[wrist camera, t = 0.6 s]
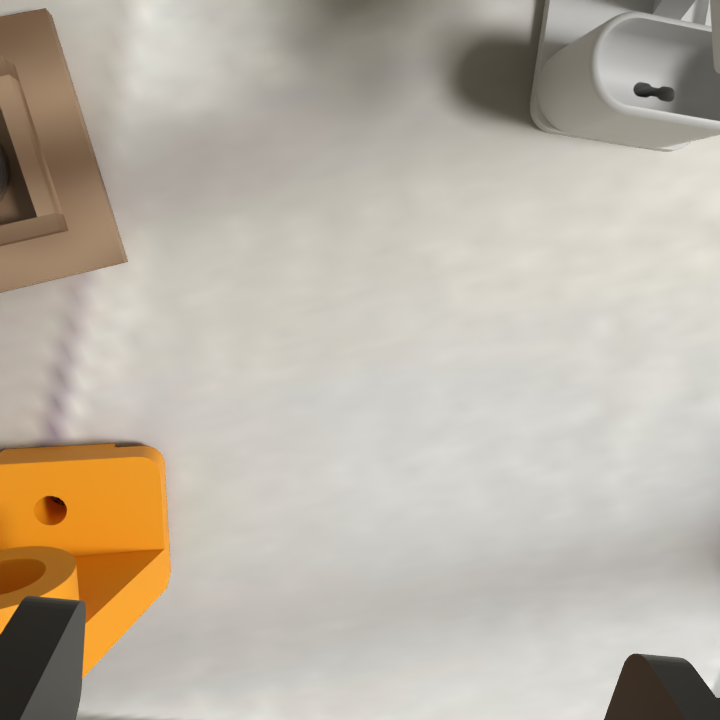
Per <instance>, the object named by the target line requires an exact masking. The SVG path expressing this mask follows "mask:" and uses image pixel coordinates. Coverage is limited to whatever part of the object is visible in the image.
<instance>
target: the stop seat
mask: <svg viewBox="0 0 720 720" xmlns="http://www.w3.org/2000/svg"><path fill="white" fill-rule="evenodd" d="M0 143H1V144H2V146H3V148H4V149H5V151H6V154H7V156H8V159H9V163H10V169H11V178H10V184H9V187H8V190H7V192H6V194H5V196H4V198H3V199H2V201H1V202H0V293H1V292H5V291H9V290H13V289H18V288H22V287H26V286H30V285H34V284H38V283H42V282H47V281H51V280H55V279H59V278H63V277H67V276H71V275H76V274H80V273H84V272H88V271H92V270H96V269H100V268H105V267H109V266H113V265H117V264H121V263H125V262H128V260H127V257H126V254H125V251H124V247H123V244H122V241H121V238H120V235H119V231H118V228H117V225H116V222H115V218H114V215H113V212H112V209H111V206H110V202H109V199H108V196H107V193H106V189H105V186H104V183H103V180H102V177H101V173H100V170H99V167H98V164H97V160H96V157H95V154H94V151H93V147H92V144H91V141H90V138H89V135H88V131H87V128H86V125H85V122H84V118H83V115H82V112H81V109H80V106H79V102H78V99H77V96H76V93H75V89H74V86H73V83H72V80H71V77H70V73H69V70H68V67H67V64H66V60H65V57H64V54H63V51H62V47H61V44H60V41H59V38H58V35H57V31H56V28H55V25H54V22H53V18H52V15H51V14H50V13H49V12H48V11H47V10H46V8H45V9H39V10H34V11H29V12H24V13H18V14H13V15H8V16H3V17H0Z"/></svg>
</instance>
